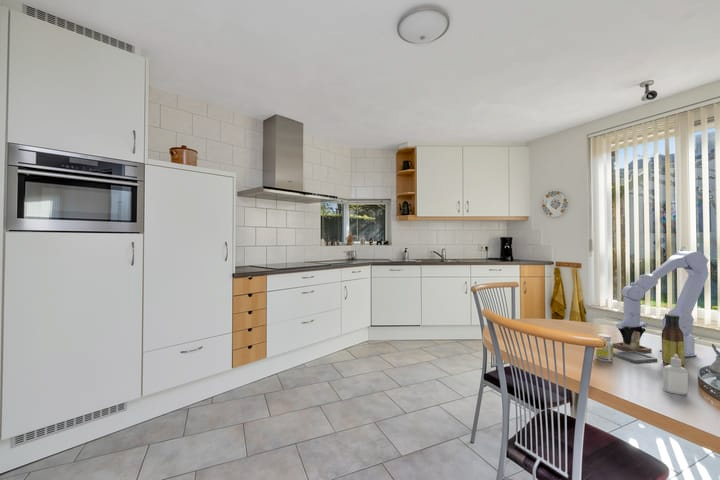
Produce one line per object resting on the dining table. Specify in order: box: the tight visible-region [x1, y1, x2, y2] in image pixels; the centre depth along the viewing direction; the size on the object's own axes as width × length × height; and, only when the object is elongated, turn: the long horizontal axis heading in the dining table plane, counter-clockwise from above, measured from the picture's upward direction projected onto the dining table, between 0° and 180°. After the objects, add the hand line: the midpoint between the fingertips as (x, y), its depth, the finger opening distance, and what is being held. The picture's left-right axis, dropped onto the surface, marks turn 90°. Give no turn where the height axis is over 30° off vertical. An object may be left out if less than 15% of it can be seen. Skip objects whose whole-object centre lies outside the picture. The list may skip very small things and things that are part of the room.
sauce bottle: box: [661, 313, 685, 368], centre depth 124 cm, size 7×6×20 cm
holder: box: [612, 341, 653, 354], centre depth 143 cm, size 10×10×2 cm
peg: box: [622, 331, 641, 349], centre depth 143 cm, size 4×4×8 cm
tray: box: [613, 350, 658, 364], centre depth 132 cm, size 11×9×1 cm
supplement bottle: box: [595, 333, 614, 363], centre depth 130 cm, size 5×5×10 cm
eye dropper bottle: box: [662, 354, 689, 396], centre depth 102 cm, size 4×6×12 cm
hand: (631, 343), depth 143 cm, fingers closed on peg, 4 cm apart
